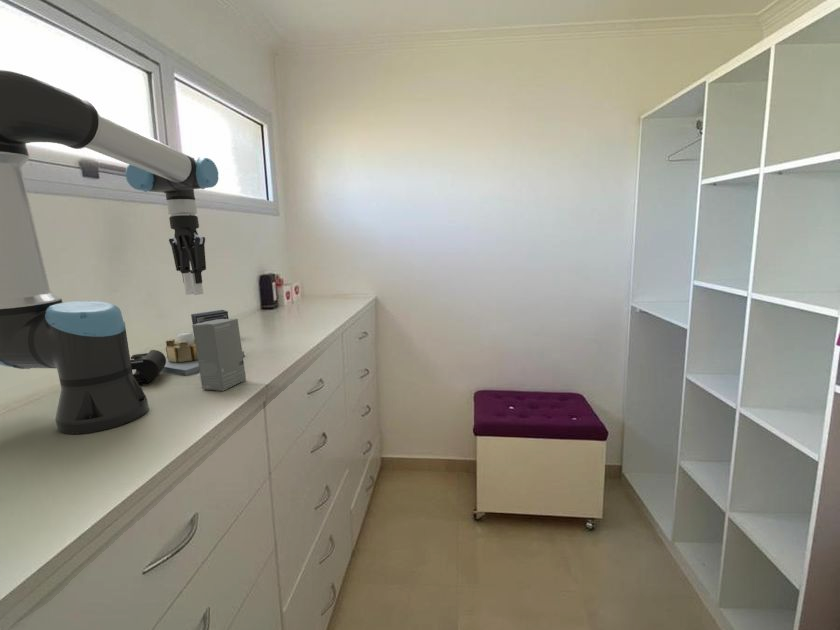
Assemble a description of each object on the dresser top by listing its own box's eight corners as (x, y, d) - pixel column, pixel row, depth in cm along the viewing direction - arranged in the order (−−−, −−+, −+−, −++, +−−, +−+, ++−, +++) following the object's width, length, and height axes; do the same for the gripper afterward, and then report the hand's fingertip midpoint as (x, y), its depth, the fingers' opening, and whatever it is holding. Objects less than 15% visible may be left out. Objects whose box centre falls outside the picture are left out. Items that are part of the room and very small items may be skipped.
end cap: (161, 383, 109) (156, 357, 108) (128, 388, 107) (123, 361, 106) (168, 372, 118) (164, 348, 117) (138, 376, 116) (133, 351, 115)
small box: (226, 337, 157) (223, 308, 155) (232, 340, 152) (228, 310, 150) (194, 343, 150) (190, 313, 148) (199, 346, 145) (195, 315, 144)
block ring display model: (186, 375, 114) (181, 344, 113) (143, 368, 123) (138, 339, 121) (244, 356, 131) (241, 328, 129) (202, 351, 139) (199, 324, 138)
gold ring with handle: (184, 363, 119) (181, 344, 118) (160, 360, 124) (157, 341, 123) (232, 348, 133) (230, 331, 132) (209, 345, 138) (207, 329, 137)
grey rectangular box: (223, 392, 101) (214, 324, 98) (199, 389, 103) (189, 324, 100) (248, 380, 109) (240, 317, 106) (225, 378, 111) (217, 316, 108)
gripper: (212, 213, 129) (223, 293, 133) (177, 216, 136) (188, 292, 140) (189, 213, 122) (201, 296, 127) (153, 216, 129) (166, 295, 134)
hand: (194, 294), depth 133 cm, fingers open, 3 cm apart
